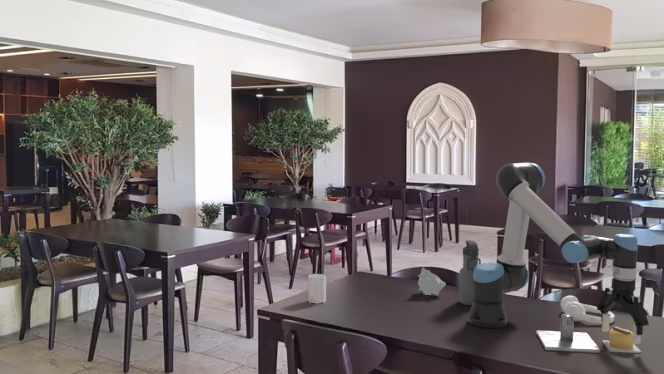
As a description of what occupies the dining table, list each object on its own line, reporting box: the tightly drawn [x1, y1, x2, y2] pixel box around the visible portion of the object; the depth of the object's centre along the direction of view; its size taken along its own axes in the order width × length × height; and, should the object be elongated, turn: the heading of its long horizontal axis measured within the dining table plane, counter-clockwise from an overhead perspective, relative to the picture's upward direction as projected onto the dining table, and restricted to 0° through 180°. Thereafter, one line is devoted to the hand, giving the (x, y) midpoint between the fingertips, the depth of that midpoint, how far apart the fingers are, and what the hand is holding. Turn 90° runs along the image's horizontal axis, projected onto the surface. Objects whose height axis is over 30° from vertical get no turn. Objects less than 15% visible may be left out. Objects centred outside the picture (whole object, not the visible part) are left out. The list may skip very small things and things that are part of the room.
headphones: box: [559, 295, 616, 325], centre depth 244 cm, size 20×8×20 cm
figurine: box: [417, 267, 446, 296], centre depth 281 cm, size 10×15×14 cm
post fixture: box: [535, 313, 601, 354], centre depth 214 cm, size 18×18×10 cm
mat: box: [601, 339, 642, 354], centre depth 210 cm, size 10×10×1 cm
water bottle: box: [458, 239, 482, 307], centre depth 266 cm, size 10×10×28 cm
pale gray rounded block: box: [307, 273, 327, 303], centre depth 266 cm, size 8×12×12 cm
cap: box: [608, 325, 633, 349], centre depth 209 cm, size 8×8×6 cm
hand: (620, 337), depth 210 cm, fingers open, 13 cm apart
